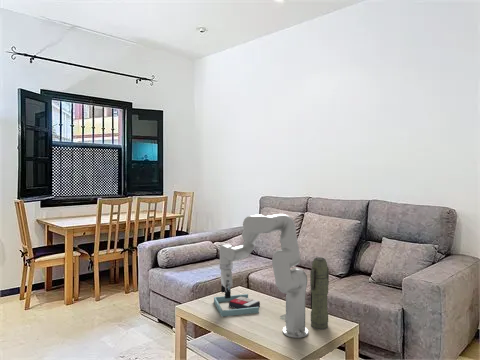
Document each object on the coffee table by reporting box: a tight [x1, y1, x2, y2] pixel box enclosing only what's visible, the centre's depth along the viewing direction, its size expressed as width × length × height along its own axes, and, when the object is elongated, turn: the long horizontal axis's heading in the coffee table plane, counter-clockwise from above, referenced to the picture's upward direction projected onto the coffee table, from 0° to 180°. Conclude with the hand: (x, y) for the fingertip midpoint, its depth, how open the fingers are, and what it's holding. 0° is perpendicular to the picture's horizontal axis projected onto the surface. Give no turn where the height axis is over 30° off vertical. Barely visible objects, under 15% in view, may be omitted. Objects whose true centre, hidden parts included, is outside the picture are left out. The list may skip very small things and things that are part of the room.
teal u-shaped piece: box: [213, 293, 260, 317], centre depth 219 cm, size 23×21×3 cm
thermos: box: [309, 256, 330, 330], centre depth 192 cm, size 9×12×35 cm
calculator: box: [228, 297, 261, 309], centre depth 220 cm, size 11×4×15 cm
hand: (225, 295), depth 218 cm, fingers open, 9 cm apart
